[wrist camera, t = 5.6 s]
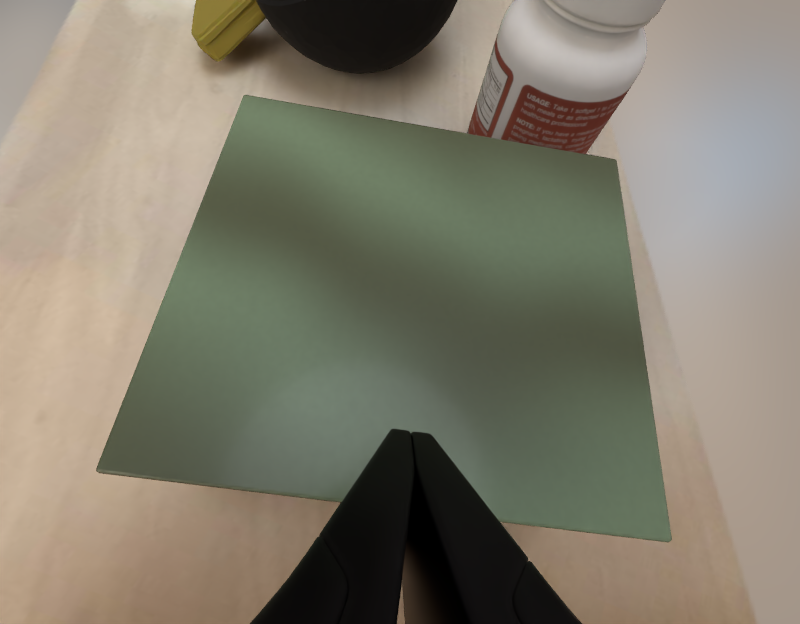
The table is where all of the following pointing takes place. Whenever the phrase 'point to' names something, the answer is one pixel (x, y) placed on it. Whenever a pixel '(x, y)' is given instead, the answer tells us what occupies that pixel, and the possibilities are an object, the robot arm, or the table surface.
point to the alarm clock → (327, 28)
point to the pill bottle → (561, 70)
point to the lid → (402, 323)
